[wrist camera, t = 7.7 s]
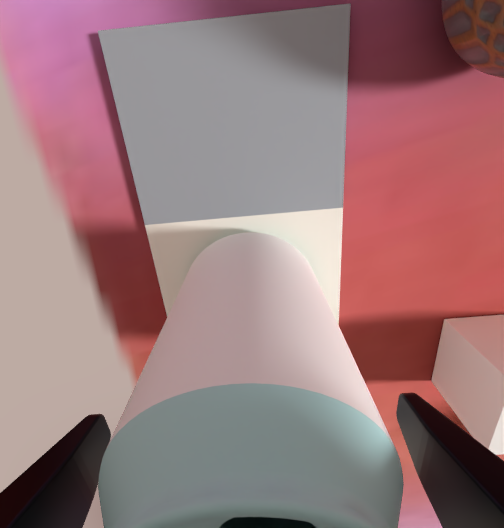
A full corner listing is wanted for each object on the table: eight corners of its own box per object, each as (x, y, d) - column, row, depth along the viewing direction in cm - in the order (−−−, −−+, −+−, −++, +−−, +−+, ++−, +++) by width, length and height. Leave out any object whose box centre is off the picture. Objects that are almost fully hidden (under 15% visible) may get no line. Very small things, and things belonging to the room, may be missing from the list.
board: (330, 489, 24) (332, 494, 24) (212, 496, 25) (212, 502, 24) (347, 7, 12) (350, 3, 11) (102, 33, 12) (97, 31, 12)
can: (163, 262, 16) (-45, 560, 5) (283, 205, 14) (390, 425, 3) (224, 355, 18) (185, 690, 7) (331, 313, 17) (480, 639, 6)
